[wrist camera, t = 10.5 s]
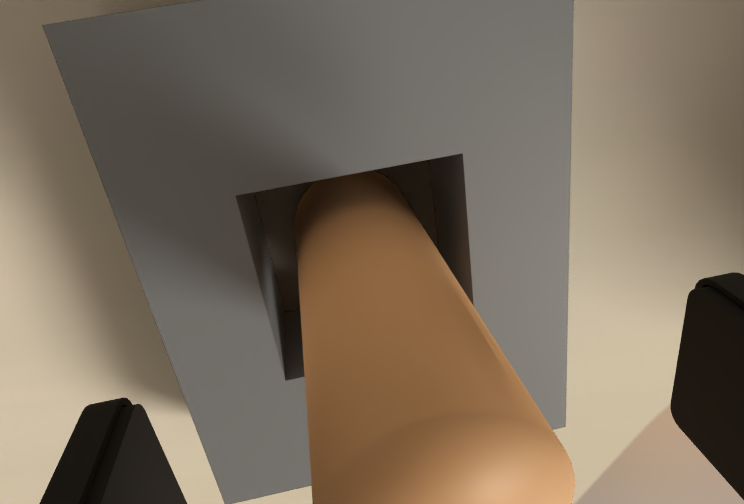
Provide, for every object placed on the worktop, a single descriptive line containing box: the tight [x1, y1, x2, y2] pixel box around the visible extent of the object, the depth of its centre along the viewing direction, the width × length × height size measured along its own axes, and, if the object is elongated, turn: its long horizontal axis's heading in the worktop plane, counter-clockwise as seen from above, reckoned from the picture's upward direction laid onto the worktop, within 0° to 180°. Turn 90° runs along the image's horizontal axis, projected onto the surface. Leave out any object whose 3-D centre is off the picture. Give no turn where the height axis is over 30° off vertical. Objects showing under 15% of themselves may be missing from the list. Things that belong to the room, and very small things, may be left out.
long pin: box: [295, 170, 575, 504], centre depth 13 cm, size 4×4×12 cm
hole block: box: [42, 0, 574, 504], centre depth 17 cm, size 15×12×4 cm
